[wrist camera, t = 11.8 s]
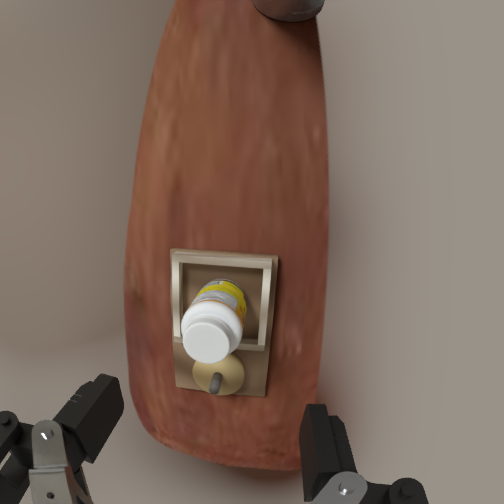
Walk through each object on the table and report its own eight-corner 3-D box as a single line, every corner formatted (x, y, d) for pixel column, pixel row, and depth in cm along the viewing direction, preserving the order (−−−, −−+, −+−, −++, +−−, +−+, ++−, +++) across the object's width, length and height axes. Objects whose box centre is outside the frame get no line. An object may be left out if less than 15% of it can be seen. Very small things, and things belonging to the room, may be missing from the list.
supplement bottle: (233, 330, 33) (220, 382, 23) (191, 307, 33) (163, 351, 23) (257, 292, 32) (252, 335, 22) (212, 267, 32) (189, 301, 22)
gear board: (172, 247, 32) (155, 258, 27) (278, 255, 32) (280, 267, 27) (178, 382, 36) (167, 406, 31) (264, 392, 36) (264, 418, 30)
